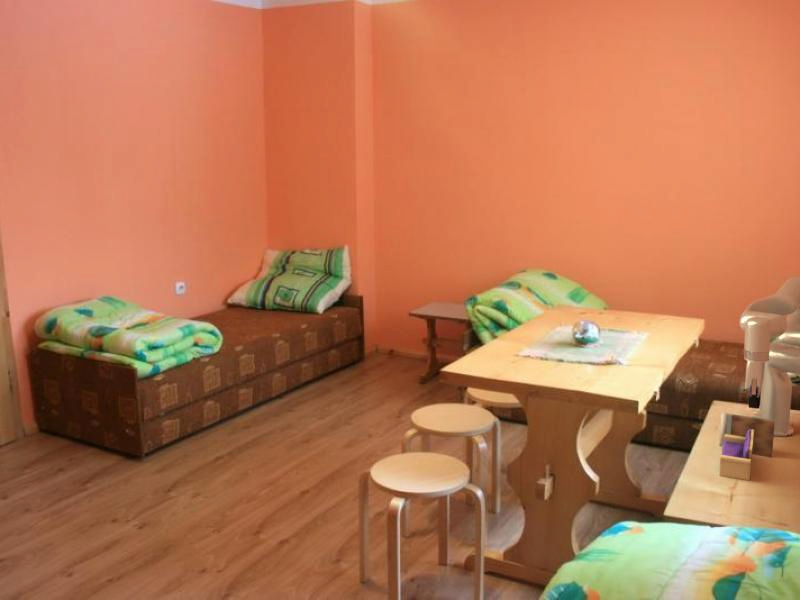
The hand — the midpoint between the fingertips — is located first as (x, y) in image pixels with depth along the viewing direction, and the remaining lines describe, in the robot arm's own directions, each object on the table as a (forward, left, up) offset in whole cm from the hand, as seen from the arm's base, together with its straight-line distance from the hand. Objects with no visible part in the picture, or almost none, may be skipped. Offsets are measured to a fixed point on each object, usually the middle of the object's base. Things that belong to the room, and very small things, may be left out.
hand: (754, 407), depth 240 cm
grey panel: (+3, -5, -13) cm, 14 cm away
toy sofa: (+14, -17, -14) cm, 26 cm away
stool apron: (+7, -6, -13) cm, 16 cm away
